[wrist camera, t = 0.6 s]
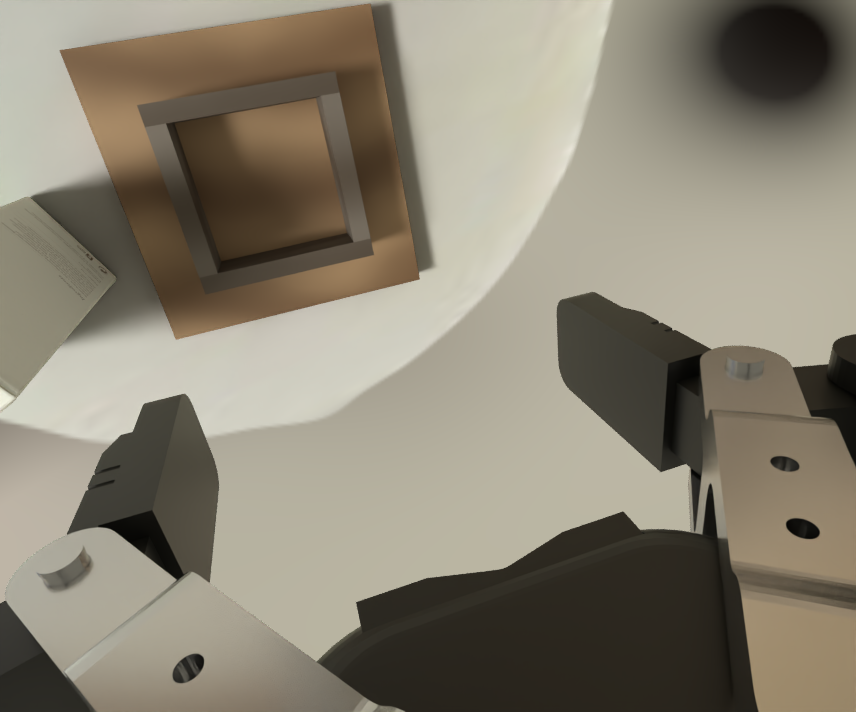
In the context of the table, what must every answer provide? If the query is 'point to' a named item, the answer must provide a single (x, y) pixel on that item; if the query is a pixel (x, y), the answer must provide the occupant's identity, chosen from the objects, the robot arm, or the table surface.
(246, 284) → the cup holder
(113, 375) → the table surface
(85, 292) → the skincare box
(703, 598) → the robot arm
